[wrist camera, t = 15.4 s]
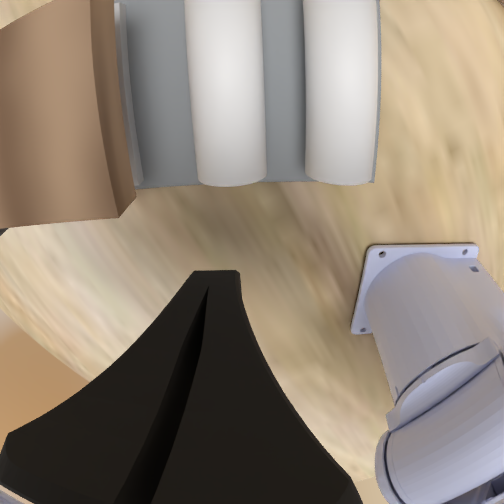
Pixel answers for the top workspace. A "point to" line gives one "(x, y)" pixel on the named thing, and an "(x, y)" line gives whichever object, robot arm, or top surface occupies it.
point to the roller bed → (175, 91)
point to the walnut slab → (62, 117)
